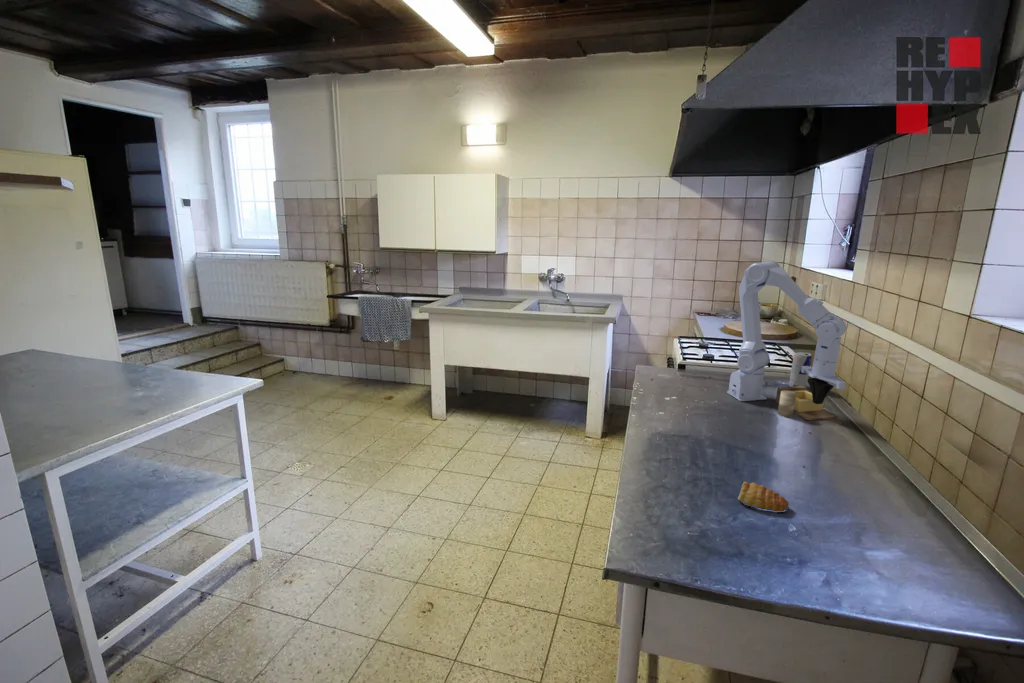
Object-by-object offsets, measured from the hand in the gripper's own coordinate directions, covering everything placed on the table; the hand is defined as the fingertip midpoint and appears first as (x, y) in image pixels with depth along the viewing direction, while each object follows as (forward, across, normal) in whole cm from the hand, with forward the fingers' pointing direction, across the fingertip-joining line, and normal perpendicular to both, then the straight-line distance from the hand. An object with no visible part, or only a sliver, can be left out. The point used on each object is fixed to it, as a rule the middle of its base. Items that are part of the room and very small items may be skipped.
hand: (817, 403), depth 145 cm
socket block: (+4, -6, 0) cm, 7 cm away
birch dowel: (+4, -3, -8) cm, 9 cm away
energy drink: (+4, -22, +12) cm, 26 cm away
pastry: (+5, +37, -44) cm, 58 cm away
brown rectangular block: (+4, -5, 0) cm, 6 cm away
